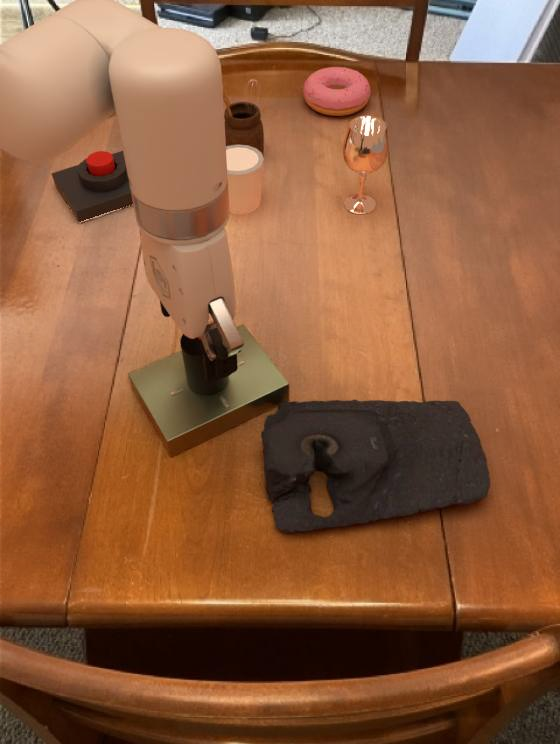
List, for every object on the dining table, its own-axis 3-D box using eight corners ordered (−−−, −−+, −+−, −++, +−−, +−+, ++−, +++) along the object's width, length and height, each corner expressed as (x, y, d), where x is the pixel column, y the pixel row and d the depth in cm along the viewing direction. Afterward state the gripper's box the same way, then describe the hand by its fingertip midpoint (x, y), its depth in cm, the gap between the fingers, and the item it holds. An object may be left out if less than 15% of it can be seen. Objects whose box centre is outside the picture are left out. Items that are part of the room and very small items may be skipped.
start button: (94, 180, 92) (91, 169, 91) (85, 166, 94) (82, 155, 93) (119, 172, 93) (117, 161, 92) (109, 159, 95) (107, 148, 94)
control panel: (171, 457, 69) (166, 440, 66) (132, 390, 74) (127, 372, 72) (289, 400, 73) (289, 382, 71) (244, 341, 79) (243, 322, 76)
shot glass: (226, 222, 92) (222, 179, 87) (208, 194, 96) (204, 151, 91) (272, 209, 94) (272, 166, 88) (253, 182, 98) (251, 139, 92)
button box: (79, 224, 92) (72, 200, 89) (55, 186, 97) (47, 162, 94) (160, 196, 96) (156, 172, 93) (132, 161, 101) (128, 136, 98)
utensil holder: (271, 156, 102) (270, 79, 92) (236, 170, 100) (231, 93, 90) (250, 138, 105) (247, 61, 96) (215, 151, 103) (208, 74, 93)
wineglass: (374, 189, 96) (384, 111, 87) (385, 214, 93) (396, 136, 84) (335, 193, 96) (340, 115, 87) (344, 219, 92) (350, 140, 83)
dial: (236, 384, 71) (232, 344, 66) (197, 401, 69) (190, 361, 65) (217, 356, 73) (212, 315, 68) (180, 371, 72) (172, 331, 67)
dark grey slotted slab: (498, 530, 64) (511, 506, 60) (263, 538, 63) (262, 514, 59) (465, 399, 73) (474, 371, 69) (261, 405, 73) (259, 377, 69)
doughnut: (362, 125, 107) (364, 100, 104) (294, 114, 109) (295, 90, 106) (375, 90, 114) (378, 66, 110) (311, 81, 116) (312, 57, 112)
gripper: (96, 158, 57) (129, 301, 71) (186, 283, 48) (204, 420, 61) (177, 133, 60) (194, 275, 73) (277, 248, 50) (275, 387, 64)
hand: (198, 341), depth 67 cm, fingers open, 9 cm apart
